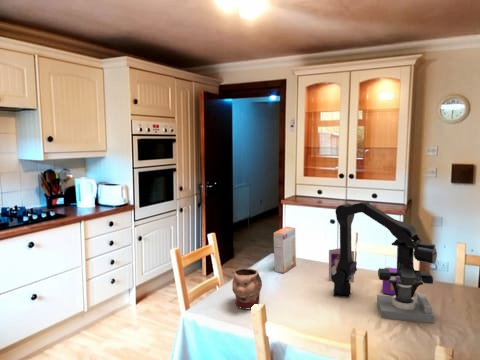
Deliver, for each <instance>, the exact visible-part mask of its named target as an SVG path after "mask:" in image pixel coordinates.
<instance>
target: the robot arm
mask: <svg viewBox="0 0 480 360" xmlns="http://www.w3.org/2000/svg"><path fill="white" fill-rule="evenodd" d="M334 212H335V217H336V221H337V223H338V225H339V248H340V260H339V262H338V265H337V271H336V273H335V274H334V275H333V276H332V277H331V279H332V281H331V283H333V296H334V297H343V298H350V295H351V290H352V289H351V286H352V285H351V282H349V279H351V277H352V276H353V275H354V276H355V274H356V272H358V269H357V264H358V262H357V261H355V260H354V261H353V259H352V253H351V251H352V224H353V221H354V219H355V214H359V213H362V214H364V215H366V216H367V217H369V218H370V219H372V220H373V221H375V222H376V223H378V224H380V225H381V226H383V227H384V228H386V229H387V230H388V231H389V232H390V233H391V234H392V236H393V237H395V240H394V242H391V246H394V247H396V248H397V249H396V269H397V272H390V271H389V269H384V268H382V267H381V268H378V270H377V276H378V279H379V280H380V281H383V280H387V281H388V282H390V283H392V285H393V288H394V291H395V294H396V297H397V295H398V292H397V281H396V278H400V280H401V283H403V284H412V288H411V298H414V295H415V293H416V290H418V287H420V286H423V285H424V284H429V285H432V284H433V283H434V276H432V274H431V272H430V271H425V270H417V269H415V268H414V267H415V266H414V265H415V264H414V259H415V260H416V261H417V262H422V263H427V264H433V265H435V264H436V261H437V256H438V252H437V248H436V245H435V244H432V243H431V244H430V243H424V242H423V241H422V239H421V238H420V237H419V235H418V234H417V231H416V228H415V227H414V226H413V225H411V224H410V223H407V222H406V221H405V222H404V221H402V220H398V219H395V218H394V217H392V216H390V215H388V214H387V213H385V212H384V211H383V210H380V209H379V208H378V207H375V206H374V205H373V204H371V203H370V202H369V201H365V200H364V201H362V202H358V203H353V204H352V203H349V202H347V203H343V204H340V205H337V207H336V208H335V211H334Z"/></svg>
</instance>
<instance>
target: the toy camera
mask: <svg viewBox="0 0 480 360" xmlns="http://www.w3.org/2000/svg"><path fill="white" fill-rule="evenodd" d="M383 269H389V271H390V272H397V267H395V268H393V267H391V266H386V267H384V268H383ZM398 280H400V278H396V281H398ZM382 292H383V293H384V294H385V295H391V296H394V295H396V294H395V291H394V288H393V285H392V283H390V282H388V281H387V280H382Z"/></svg>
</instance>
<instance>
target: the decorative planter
mask: <svg viewBox="0 0 480 360" xmlns="http://www.w3.org/2000/svg"><path fill="white" fill-rule="evenodd" d="M262 282H263V281H262V277H261V276H260V274H259V271H258V270H257V269H253V268H239V269H237V270H235V271H234V277H233V280H232V283H231V284H232V293H233V294H234V296H235V304H236V305H235V306H236V307H237V306H238V307H241V308H251V307H252V306H253V305H254V304H258V305H259V304H260V296H261V290H262V287H263V283H262ZM238 307H237V308H238ZM241 308H240V309H241Z"/></svg>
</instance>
